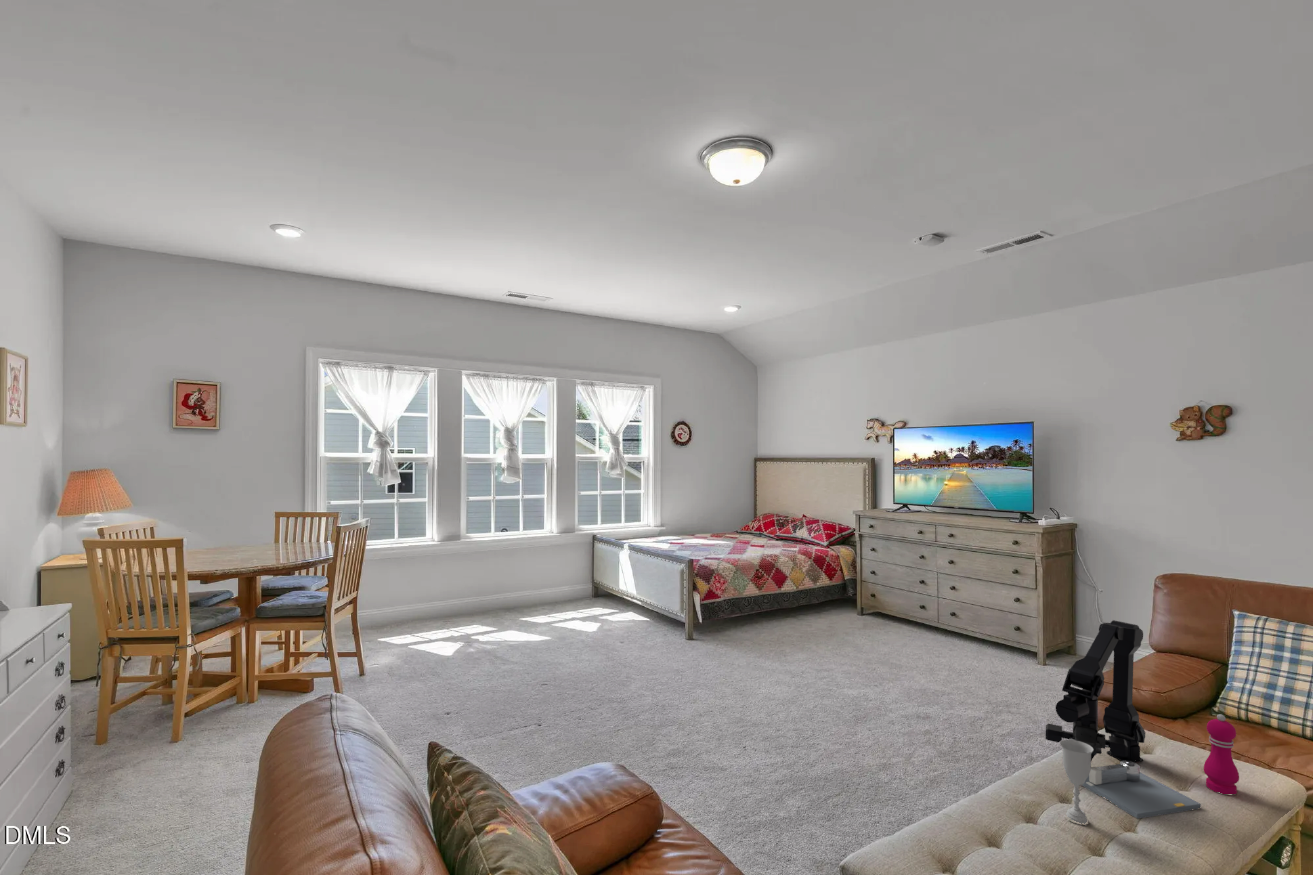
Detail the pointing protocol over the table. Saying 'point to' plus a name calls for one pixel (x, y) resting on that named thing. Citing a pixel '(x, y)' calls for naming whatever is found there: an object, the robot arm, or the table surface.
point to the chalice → (1076, 772)
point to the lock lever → (1115, 773)
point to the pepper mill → (1221, 757)
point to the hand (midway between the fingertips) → (1085, 770)
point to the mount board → (1143, 797)
